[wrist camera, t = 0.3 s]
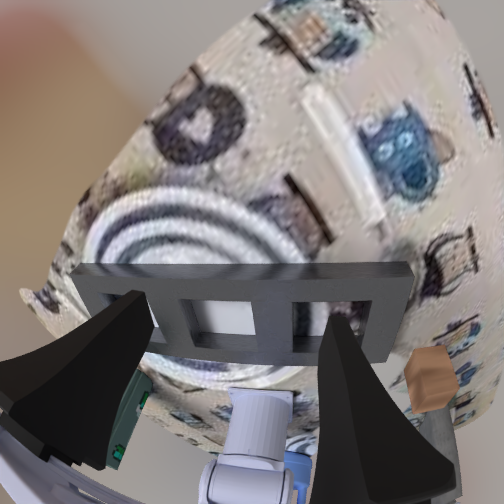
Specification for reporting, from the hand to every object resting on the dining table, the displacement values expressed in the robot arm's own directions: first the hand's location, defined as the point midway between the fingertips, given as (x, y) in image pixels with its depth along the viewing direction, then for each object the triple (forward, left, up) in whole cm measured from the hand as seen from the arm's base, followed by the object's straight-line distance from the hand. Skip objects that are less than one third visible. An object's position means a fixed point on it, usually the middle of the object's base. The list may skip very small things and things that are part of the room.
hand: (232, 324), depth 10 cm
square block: (-17, -17, -10) cm, 26 cm away
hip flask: (-34, -26, -10) cm, 44 cm away
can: (-24, +21, -10) cm, 33 cm away
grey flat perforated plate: (-9, +4, -10) cm, 14 cm away
